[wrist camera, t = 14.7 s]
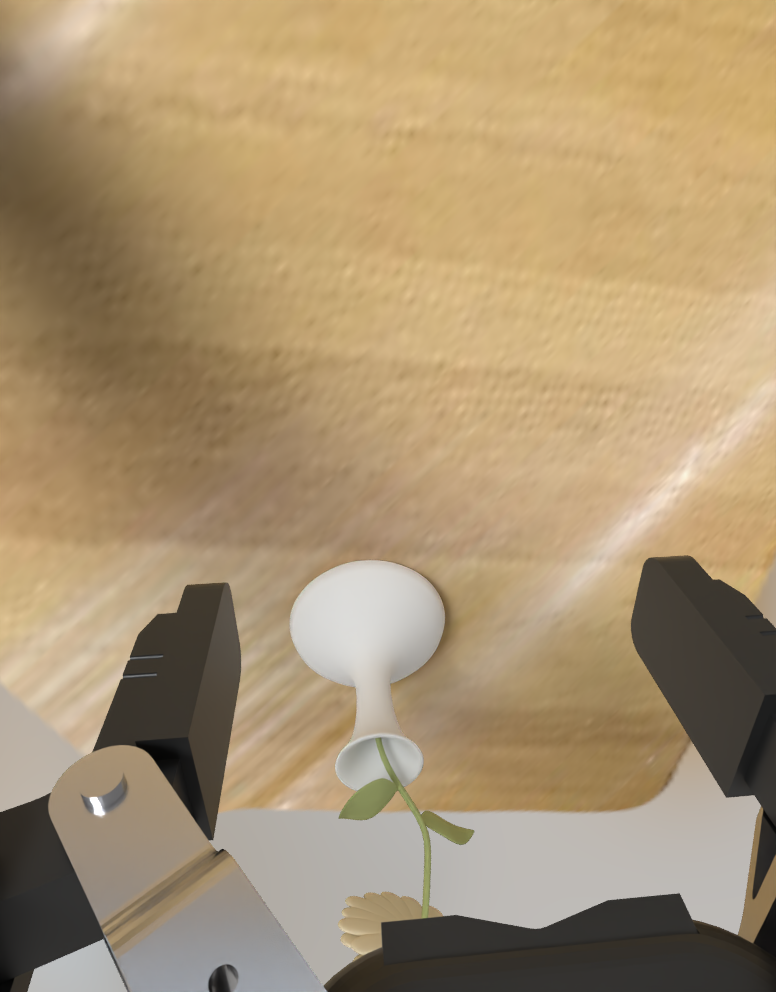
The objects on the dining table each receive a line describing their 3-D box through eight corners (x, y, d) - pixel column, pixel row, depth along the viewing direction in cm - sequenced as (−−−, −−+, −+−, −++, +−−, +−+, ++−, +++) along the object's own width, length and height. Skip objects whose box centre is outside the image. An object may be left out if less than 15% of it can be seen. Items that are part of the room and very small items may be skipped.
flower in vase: (258, 612, 47) (198, 1014, 25) (369, 518, 44) (409, 883, 22) (378, 697, 52) (414, 1091, 31) (485, 619, 49) (609, 995, 27)
